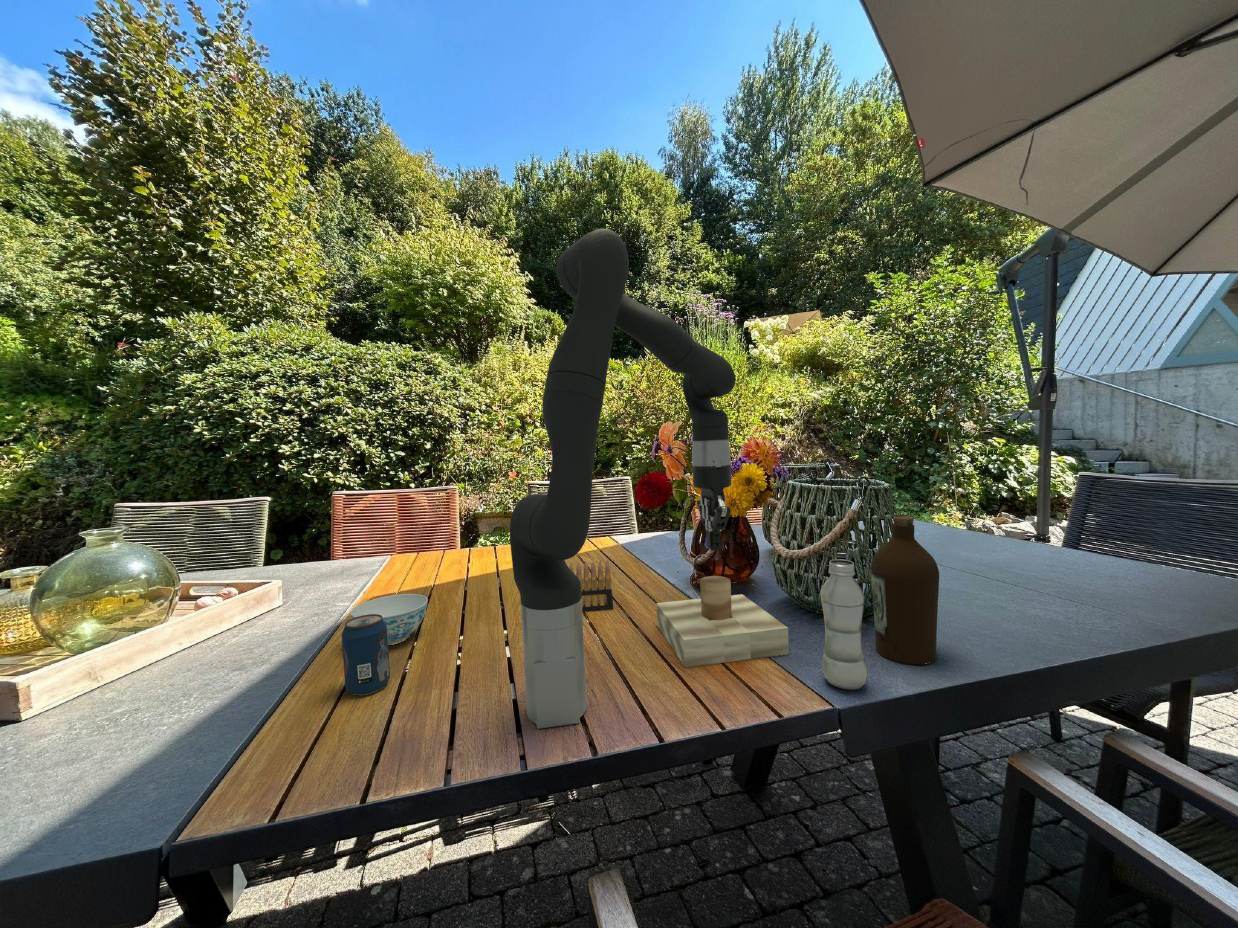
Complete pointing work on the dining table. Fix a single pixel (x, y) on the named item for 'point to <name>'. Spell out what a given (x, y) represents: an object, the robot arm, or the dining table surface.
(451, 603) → the dining table surface
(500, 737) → the dining table surface
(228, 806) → the dining table surface
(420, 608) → the chinaware
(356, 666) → the soda can
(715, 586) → the peg
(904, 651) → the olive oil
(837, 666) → the plastic bottle
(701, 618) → the board
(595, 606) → the ammunition clip
